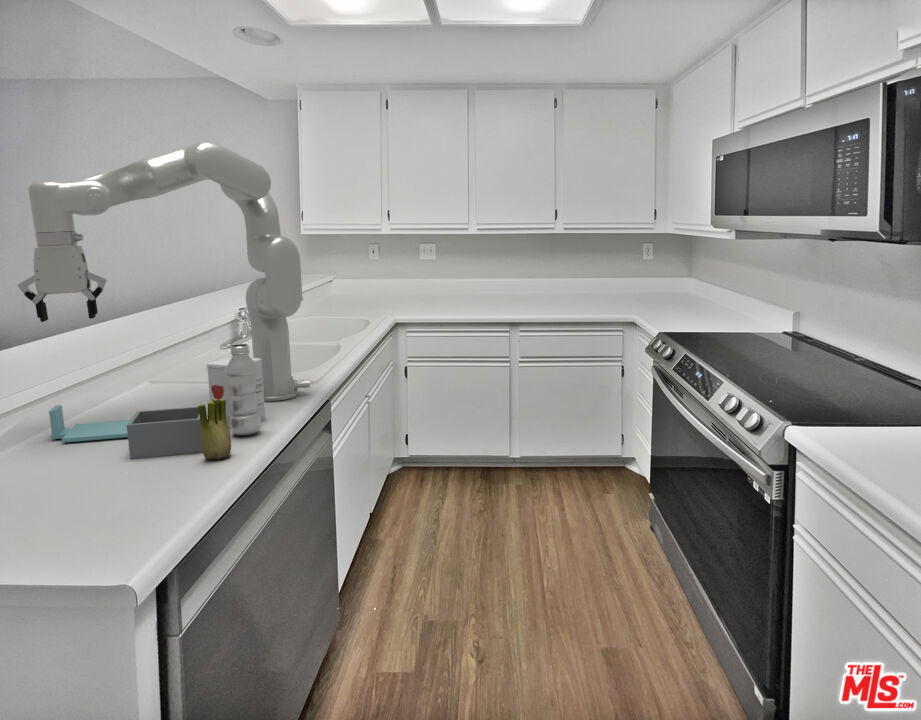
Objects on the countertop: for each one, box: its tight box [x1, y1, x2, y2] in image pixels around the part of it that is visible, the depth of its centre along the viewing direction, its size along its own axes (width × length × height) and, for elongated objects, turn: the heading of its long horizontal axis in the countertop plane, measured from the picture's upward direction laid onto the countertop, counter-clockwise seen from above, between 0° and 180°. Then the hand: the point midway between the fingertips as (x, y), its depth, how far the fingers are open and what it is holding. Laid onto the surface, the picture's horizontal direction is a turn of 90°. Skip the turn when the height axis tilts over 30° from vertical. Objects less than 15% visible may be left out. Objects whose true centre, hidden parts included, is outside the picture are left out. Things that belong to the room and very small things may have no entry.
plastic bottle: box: [226, 343, 262, 436], centre depth 158 cm, size 6×7×20 cm
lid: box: [48, 404, 131, 443], centre depth 161 cm, size 18×12×7 cm, turn 104°
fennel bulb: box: [197, 399, 232, 461], centre depth 143 cm, size 6×5×12 cm
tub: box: [127, 405, 207, 460], centre depth 151 cm, size 14×11×7 cm
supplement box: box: [206, 356, 266, 429], centre depth 168 cm, size 9×9×15 cm
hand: (68, 319), depth 159 cm, fingers open, 9 cm apart
